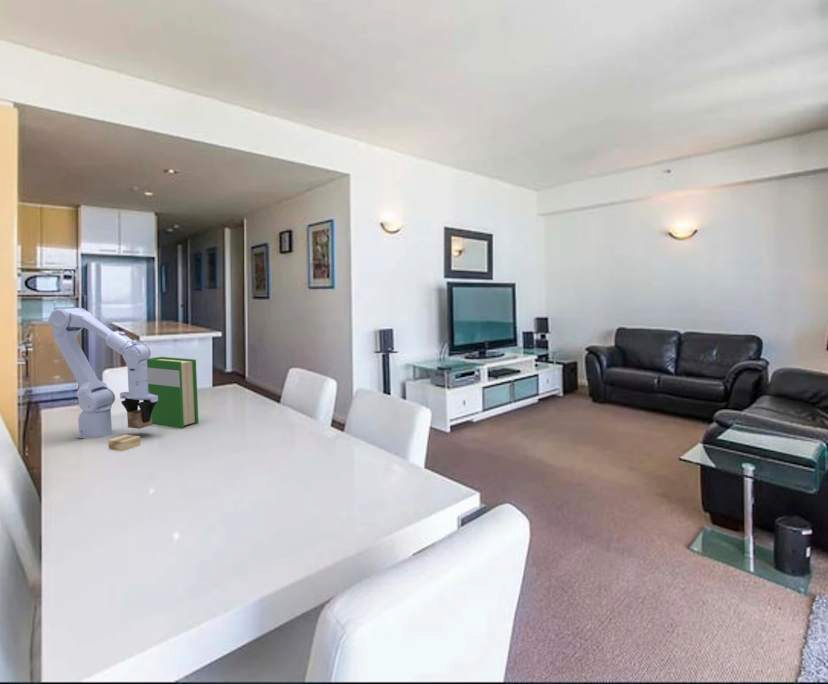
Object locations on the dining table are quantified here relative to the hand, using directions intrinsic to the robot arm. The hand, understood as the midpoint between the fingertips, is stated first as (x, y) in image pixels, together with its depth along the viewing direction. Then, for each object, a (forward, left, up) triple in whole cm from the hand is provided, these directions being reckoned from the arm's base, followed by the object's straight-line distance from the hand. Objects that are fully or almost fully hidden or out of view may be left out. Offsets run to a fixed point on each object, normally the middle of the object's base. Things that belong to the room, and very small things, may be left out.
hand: (139, 421), depth 159 cm
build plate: (+5, -11, -6) cm, 13 cm away
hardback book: (-4, +17, -6) cm, 18 cm away
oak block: (+6, -11, -5) cm, 13 cm away
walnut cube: (0, 0, -2) cm, 2 cm away
